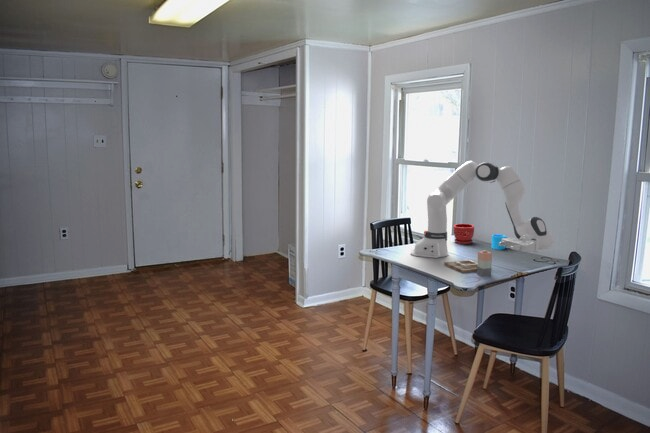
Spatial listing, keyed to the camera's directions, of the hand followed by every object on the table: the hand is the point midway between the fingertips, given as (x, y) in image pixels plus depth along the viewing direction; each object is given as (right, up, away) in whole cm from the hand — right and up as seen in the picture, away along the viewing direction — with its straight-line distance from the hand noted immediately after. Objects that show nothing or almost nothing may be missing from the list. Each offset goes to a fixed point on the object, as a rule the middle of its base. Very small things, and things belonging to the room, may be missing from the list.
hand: (505, 245), depth 272 cm
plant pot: (-3, -2, +73) cm, 73 cm away
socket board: (-17, -13, +13) cm, 24 cm away
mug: (+17, -5, +58) cm, 60 cm away
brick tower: (-12, -15, -1) cm, 19 cm away
